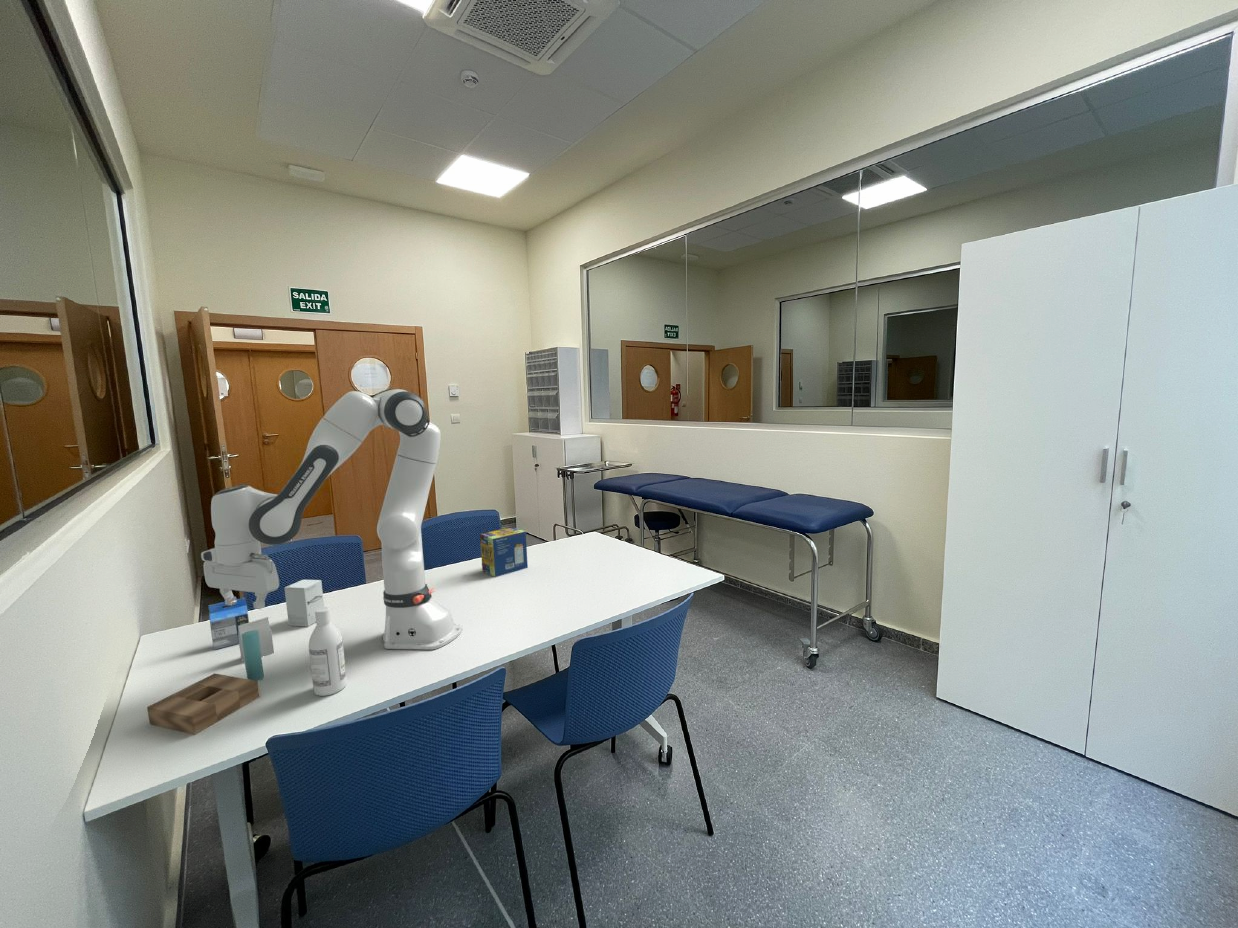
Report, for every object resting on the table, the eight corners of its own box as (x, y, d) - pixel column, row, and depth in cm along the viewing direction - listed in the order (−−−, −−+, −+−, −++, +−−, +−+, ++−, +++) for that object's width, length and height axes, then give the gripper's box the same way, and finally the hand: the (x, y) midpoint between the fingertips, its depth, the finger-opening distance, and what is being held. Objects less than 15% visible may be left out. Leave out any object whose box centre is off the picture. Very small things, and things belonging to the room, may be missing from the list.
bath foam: (340, 677, 127) (331, 601, 125) (352, 686, 123) (343, 607, 120) (309, 690, 122) (300, 610, 119) (320, 700, 117) (311, 618, 115)
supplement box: (308, 627, 157) (303, 588, 156) (287, 625, 159) (283, 587, 157) (326, 617, 164) (322, 579, 163) (306, 615, 166) (302, 578, 164)
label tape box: (213, 650, 144) (207, 609, 142) (213, 645, 147) (207, 605, 145) (251, 640, 149) (246, 600, 148) (250, 636, 152) (245, 596, 151)
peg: (267, 675, 129) (261, 630, 128) (254, 682, 126) (248, 637, 124) (257, 673, 130) (251, 629, 129) (244, 680, 127) (238, 635, 125)
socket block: (259, 696, 120) (257, 680, 119) (195, 734, 107) (192, 716, 106) (216, 688, 124) (214, 673, 123) (149, 723, 111) (147, 706, 110)
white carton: (274, 653, 141) (269, 618, 140) (244, 663, 136) (240, 627, 135) (270, 649, 144) (265, 615, 142) (241, 658, 139) (236, 624, 137)
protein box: (481, 571, 204) (479, 533, 202) (515, 562, 214) (512, 526, 212) (494, 577, 196) (492, 538, 194) (528, 567, 207) (526, 530, 205)
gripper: (283, 551, 124) (288, 605, 126) (222, 546, 130) (228, 597, 132) (258, 559, 118) (264, 615, 120) (195, 553, 124) (202, 607, 126)
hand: (245, 606), depth 126 cm, fingers open, 8 cm apart
